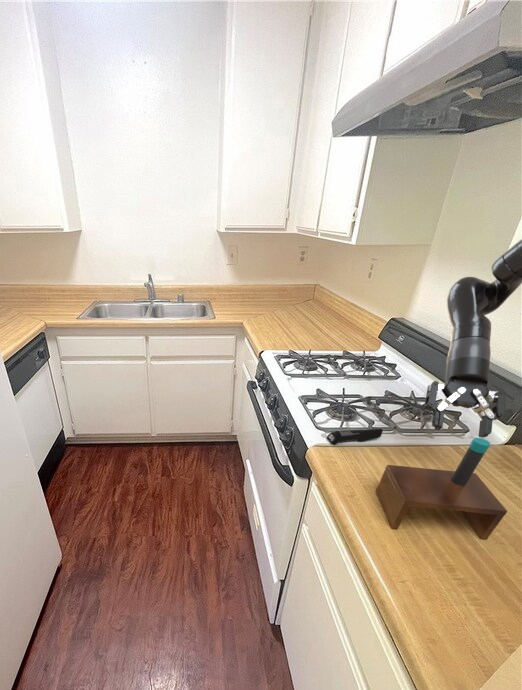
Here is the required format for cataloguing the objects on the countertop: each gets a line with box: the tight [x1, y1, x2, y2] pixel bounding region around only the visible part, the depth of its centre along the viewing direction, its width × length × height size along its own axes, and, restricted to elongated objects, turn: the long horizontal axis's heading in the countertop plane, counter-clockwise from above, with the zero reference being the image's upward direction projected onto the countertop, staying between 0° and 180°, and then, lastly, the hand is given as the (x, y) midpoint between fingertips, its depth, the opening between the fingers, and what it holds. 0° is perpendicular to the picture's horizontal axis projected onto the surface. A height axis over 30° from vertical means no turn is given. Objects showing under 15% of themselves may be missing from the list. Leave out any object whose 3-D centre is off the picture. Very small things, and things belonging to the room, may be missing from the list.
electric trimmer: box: [326, 428, 383, 445], centre depth 96 cm, size 4×16×3 cm, turn 100°
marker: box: [451, 437, 491, 486], centre depth 68 cm, size 3×3×10 cm
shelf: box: [375, 464, 508, 541], centre depth 71 cm, size 18×11×8 cm, turn 82°
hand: (460, 432), depth 74 cm, fingers open, 8 cm apart
